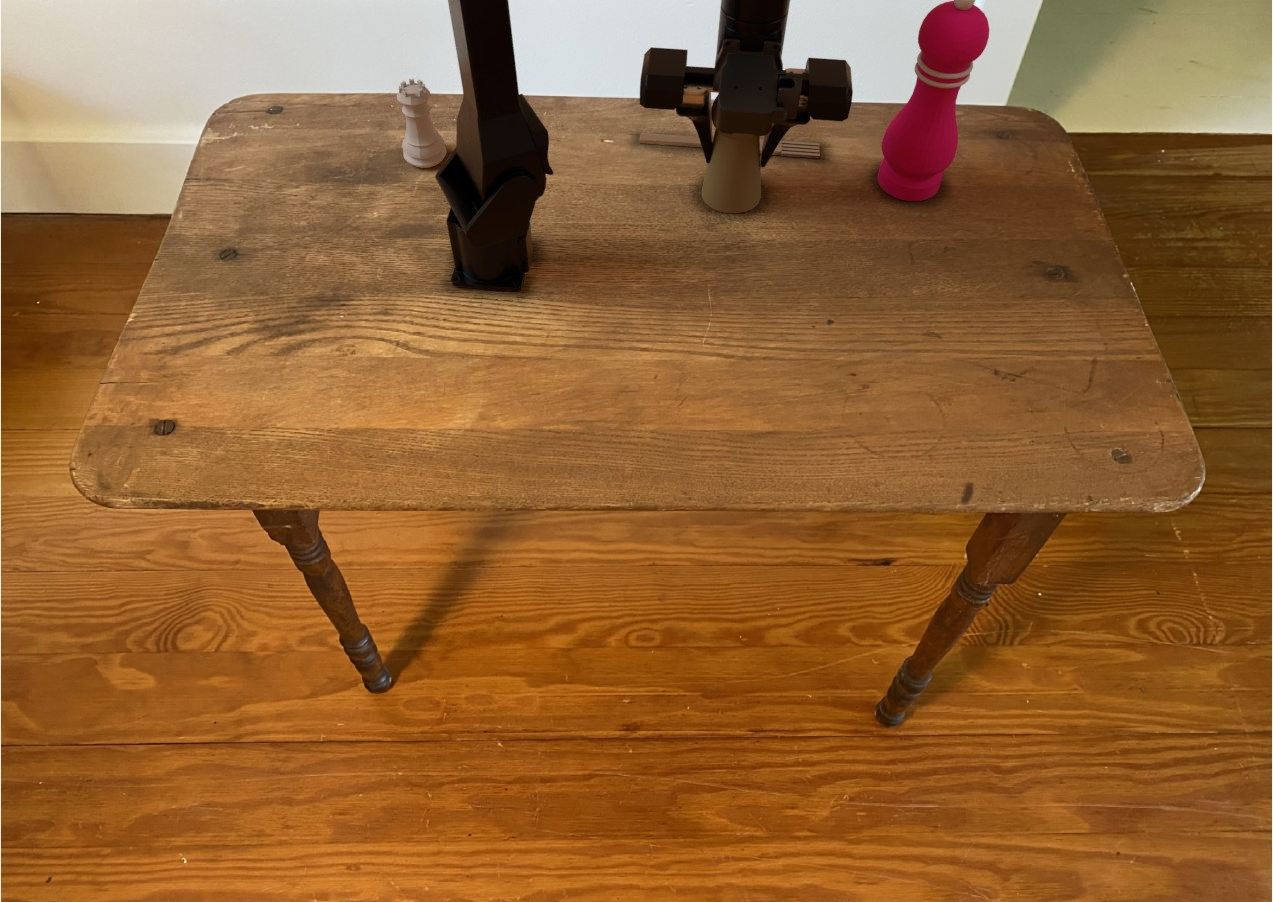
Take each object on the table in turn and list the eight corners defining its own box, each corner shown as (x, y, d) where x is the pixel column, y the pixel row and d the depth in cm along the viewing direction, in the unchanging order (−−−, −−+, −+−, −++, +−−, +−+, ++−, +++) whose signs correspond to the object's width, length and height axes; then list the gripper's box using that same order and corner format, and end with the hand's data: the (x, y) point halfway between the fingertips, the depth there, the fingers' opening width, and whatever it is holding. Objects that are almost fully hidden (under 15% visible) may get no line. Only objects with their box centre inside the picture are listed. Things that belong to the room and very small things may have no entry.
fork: (639, 146, 97) (639, 142, 97) (641, 133, 98) (641, 129, 98) (819, 159, 96) (820, 155, 96) (818, 146, 98) (819, 142, 97)
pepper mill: (953, 176, 95) (1022, -17, 79) (927, 214, 91) (994, 20, 75) (889, 152, 97) (943, -41, 81) (861, 188, 94) (911, -6, 77)
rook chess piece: (444, 170, 94) (431, 100, 87) (400, 169, 94) (384, 99, 87) (450, 144, 96) (438, 73, 90) (407, 143, 96) (392, 72, 90)
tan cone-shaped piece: (757, 217, 90) (770, 118, 82) (696, 209, 91) (702, 110, 82) (764, 179, 94) (777, 81, 85) (706, 172, 95) (713, 73, 86)
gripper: (635, 51, 73) (632, 209, 85) (872, 67, 72) (834, 224, 84) (647, -19, 79) (643, 137, 92) (864, -6, 78) (830, 150, 91)
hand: (735, 162), depth 90 cm, fingers open, 5 cm apart
